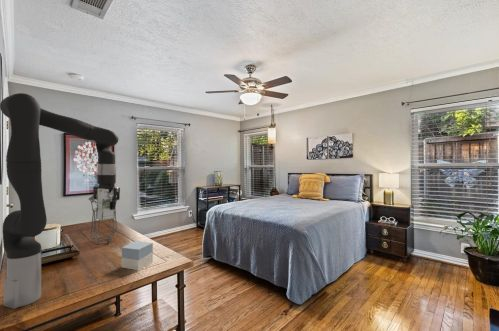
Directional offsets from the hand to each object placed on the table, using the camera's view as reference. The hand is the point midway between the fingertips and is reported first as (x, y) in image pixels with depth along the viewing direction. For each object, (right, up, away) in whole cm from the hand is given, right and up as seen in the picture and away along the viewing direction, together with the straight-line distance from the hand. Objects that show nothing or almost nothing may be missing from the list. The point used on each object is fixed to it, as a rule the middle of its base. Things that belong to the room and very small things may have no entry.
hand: (106, 208), depth 112 cm
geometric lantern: (-26, -29, +42) cm, 57 cm away
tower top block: (+11, -25, +8) cm, 28 cm away
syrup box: (0, -5, 0) cm, 5 cm away
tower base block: (+11, -30, +8) cm, 33 cm away
